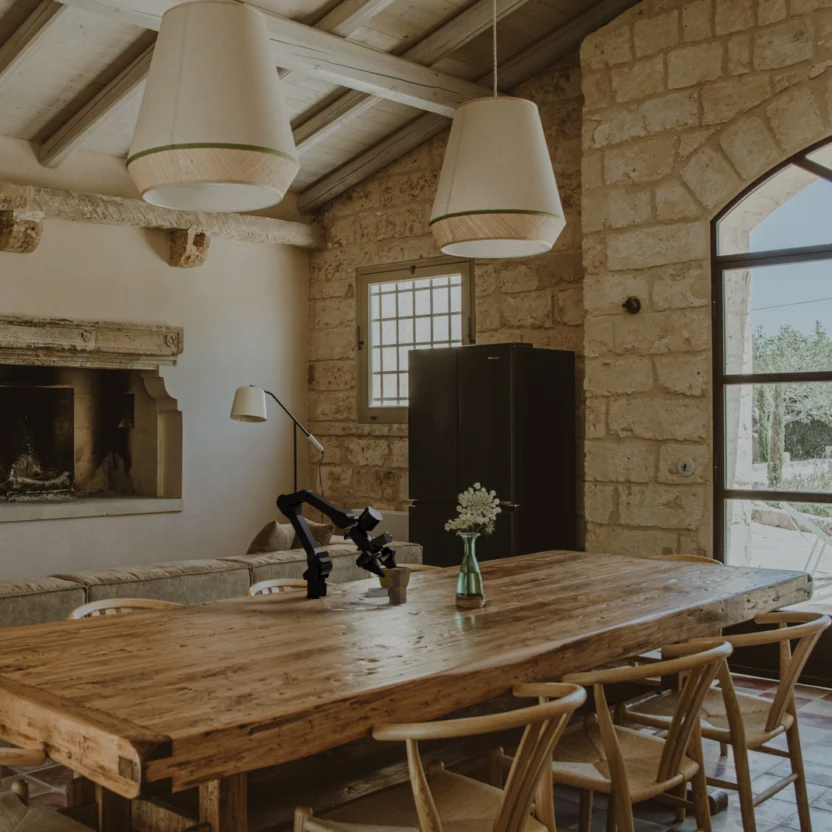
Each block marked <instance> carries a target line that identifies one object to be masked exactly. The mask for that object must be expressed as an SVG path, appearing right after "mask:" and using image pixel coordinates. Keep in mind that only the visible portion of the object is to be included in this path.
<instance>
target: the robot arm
mask: <svg viewBox="0 0 832 832" xmlns="http://www.w3.org/2000/svg"><path fill="white" fill-rule="evenodd" d="M304 503H306V504H309V505H310V506H312V507H313V508H314V509H316V510H317V511H319V512H321V513H323V514H324V515H325V516H327V517H328V518H329V519H330V522H331V523H333V524H334V526H335V527H337V528H338V529H340V530H345V529H349V530H348V531H344V532H343V534H344V535H343V540H344V541H347V540H351V541H352V542H353V543H354V545H355V546H356V547H357V548H356V551H357V552H358V553H359V552H361V553H360V554H359V556H358V557H356V559H355V565H356V567H357V568H358V569H362V570H365V571H367V572H370V573H372V574H374V575H375V576H376V575H377V576H378V577H379V576H380V577H382V578H384V577H385V576H386V575H385V574H384V572H383V570H382V569H381V568H382V567H381V565H382V566H383V567H386V568H388V569H393V568H398V567H397V566H398V565H397V563H396V559H395V556H396V554H397V553H396V552H397V549H396V547H395V546H394V545H389V546H388V545H387V544H389V543H392V542H393V534H391V532H389V531H384V532H383V533H381V534H380V535H378V536H371V535H370V534H369V533H368V532H373V531H374V530H375V529H376V528H377V526H378V525H379V524H380V523H381V522H382V521H383V519H384V517H383V515H382V513H381V512H379V511H378V510H376V509H374V508H372V506H366V507H365V508H364V510H363V511H362V513H360V514H359V515H358V514H356V513H355V512H354V511H353V510H349V509H347V508H344V507H340V506H337V505H335V504H334V503H332V502H331V501H330V500H328V499H326V498H324V497H323V496H321V495H320V494H318V493H316V492H315V491H314V490H313V489H311V488H305V489H301V490H299V491H295V492H292V493H282V494H280V495H278V496H277V498H276V501H275V504H276V507H277V508H278V510H279V511H280V513H281V514H282V515H283V516H284V517H285V518H287V519H288V520H289V522H290V524H291V526H292V528H293V530H294V532H295V534H296V535H297V539H298V540H299V542H300V545H301V547H302V548H303V551H304V552H305V553H306V565H307V569H306V570H305V571H304V572H303V573H302V577H303V581H306V598H307V599H318V598H317V597H320V598H325V597H326V596H327V595H328V594H327V593H328V589H327V588H328V585H327V582H326V579H328V578H329V577H330V573H331V572H332V570H333V567H334V565H333V564H334V563H333V561H334V560H333V559H332V558H331V556H330V554H329V551H328V550H321V549H320V547H319V545H318V543H317V540H316V539H315V537H314V535H313V533H312V532H311V529H310V527H309V525H308V523H307V522H306V520H305V518H304V516H303V511H302V510H303V505H302V504H304ZM385 545H387V546H385ZM378 561H379V562H380V564H381V565H380V564H379V563H378Z"/></svg>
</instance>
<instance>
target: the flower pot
mask: <svg viewBox="0 0 832 832" xmlns="http://www.w3.org/2000/svg"><path fill="white" fill-rule="evenodd" d="M397 567H398V568H404V569H406V589H407V587H408V585H409V583H410V578H411V571H412V570H411V569H412V568H411V567H409V566H401V565H400V566H399V565H397ZM381 569H382V570H383V572H384V574H385V575H386V576H385V577H384V578H382V577H380V576H378V579H379V580H378V581H379V583H380V584H379V585H380V588H382V587H385V588H388V587H389V569H388V568H386V567H385V566H383V567H381Z"/></svg>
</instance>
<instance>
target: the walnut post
mask: <svg viewBox="0 0 832 832" xmlns="http://www.w3.org/2000/svg"><path fill="white" fill-rule="evenodd" d="M406 594H407V588H406V569H404V568H393V569H389V602H388V603H389V605H396V606H402V605H405V604H407V602H406Z"/></svg>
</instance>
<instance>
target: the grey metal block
mask: <svg viewBox="0 0 832 832" xmlns="http://www.w3.org/2000/svg"><path fill="white" fill-rule="evenodd" d="M367 591H368V592H367V593H368V595H369V596H370V597H384V596H388V589H387V588H385V587H368V589H367ZM368 595H367V596H368Z"/></svg>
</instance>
